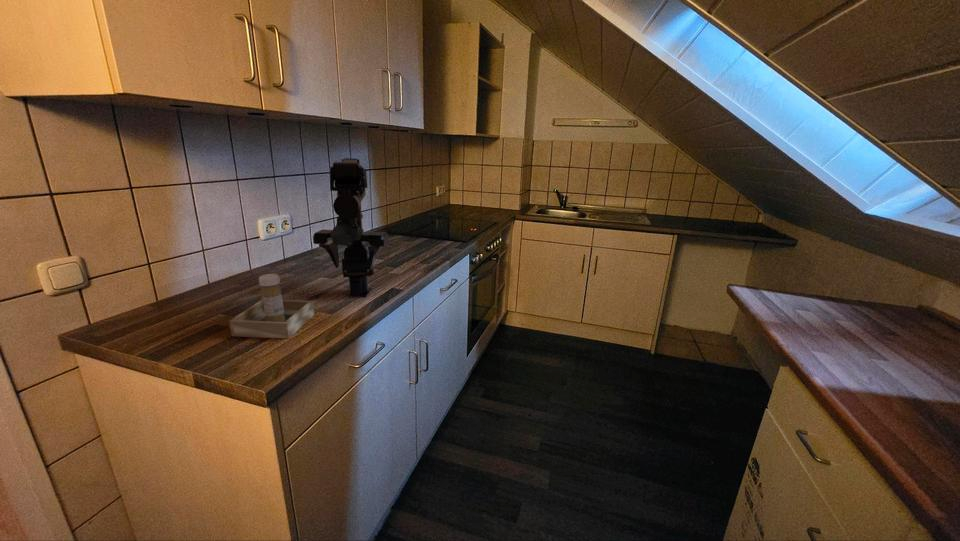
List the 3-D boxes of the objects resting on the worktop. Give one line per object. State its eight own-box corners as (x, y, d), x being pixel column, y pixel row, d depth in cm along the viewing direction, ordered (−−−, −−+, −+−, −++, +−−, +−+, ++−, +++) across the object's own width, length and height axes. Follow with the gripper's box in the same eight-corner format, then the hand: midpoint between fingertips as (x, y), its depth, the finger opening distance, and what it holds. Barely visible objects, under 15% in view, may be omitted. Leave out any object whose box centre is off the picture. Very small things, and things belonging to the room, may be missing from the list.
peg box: (264, 312, 105) (262, 299, 103) (314, 314, 104) (312, 301, 103) (231, 336, 91) (229, 321, 90) (289, 338, 91) (286, 323, 90)
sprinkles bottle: (283, 319, 101) (276, 271, 97) (288, 325, 98) (281, 276, 93) (264, 323, 98) (256, 275, 94) (268, 330, 95) (260, 280, 91)
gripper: (299, 215, 91) (306, 276, 96) (376, 218, 91) (379, 279, 95) (319, 208, 101) (324, 263, 106) (388, 211, 101) (390, 266, 106)
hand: (353, 268), depth 103 cm, fingers open, 9 cm apart
